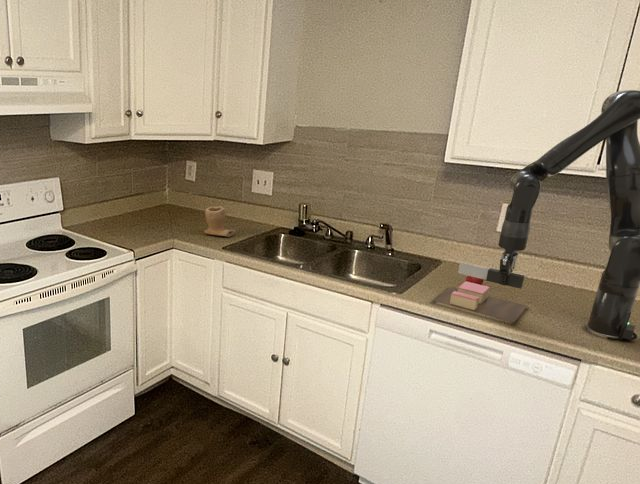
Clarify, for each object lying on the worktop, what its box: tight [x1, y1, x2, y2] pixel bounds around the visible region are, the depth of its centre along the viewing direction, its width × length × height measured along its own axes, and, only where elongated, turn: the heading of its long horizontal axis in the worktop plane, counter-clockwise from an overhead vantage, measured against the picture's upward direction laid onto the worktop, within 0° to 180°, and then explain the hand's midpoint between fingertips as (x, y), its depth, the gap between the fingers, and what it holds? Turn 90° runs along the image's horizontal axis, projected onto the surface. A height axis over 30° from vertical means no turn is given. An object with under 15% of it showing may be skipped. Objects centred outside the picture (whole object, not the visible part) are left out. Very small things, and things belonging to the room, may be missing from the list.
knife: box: [457, 262, 525, 289], centre depth 176 cm, size 19×2×4 cm, turn 45°
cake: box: [457, 281, 491, 304], centre depth 190 cm, size 8×9×4 cm
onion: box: [465, 275, 485, 285], centre depth 200 cm, size 6×6×8 cm
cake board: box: [432, 286, 528, 324], centre depth 185 cm, size 25×20×1 cm
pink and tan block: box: [450, 291, 479, 310], centre depth 182 cm, size 8×3×4 cm, turn 46°
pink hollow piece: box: [204, 205, 237, 238], centre depth 267 cm, size 15×12×15 cm
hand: (503, 283), depth 174 cm, fingers closed on knife, 2 cm apart
